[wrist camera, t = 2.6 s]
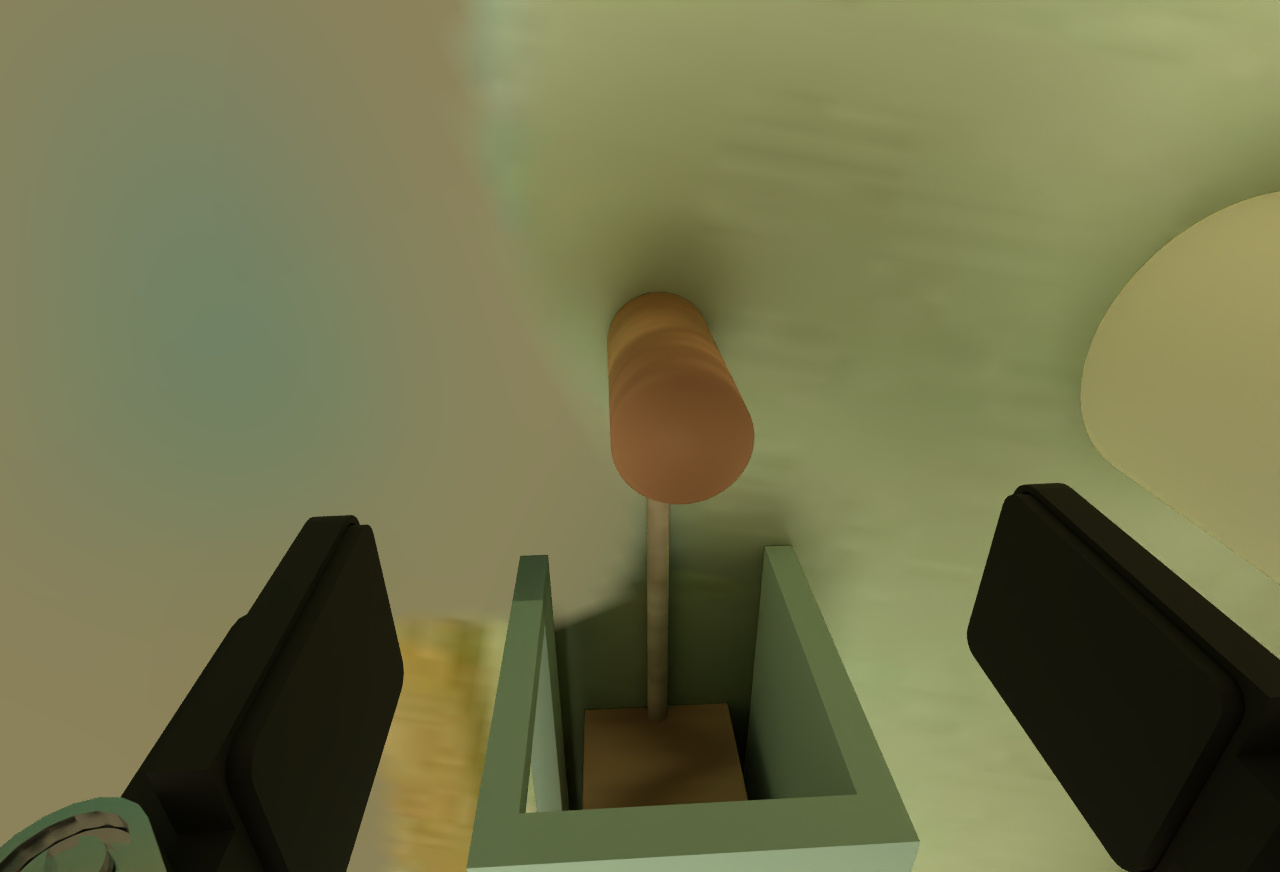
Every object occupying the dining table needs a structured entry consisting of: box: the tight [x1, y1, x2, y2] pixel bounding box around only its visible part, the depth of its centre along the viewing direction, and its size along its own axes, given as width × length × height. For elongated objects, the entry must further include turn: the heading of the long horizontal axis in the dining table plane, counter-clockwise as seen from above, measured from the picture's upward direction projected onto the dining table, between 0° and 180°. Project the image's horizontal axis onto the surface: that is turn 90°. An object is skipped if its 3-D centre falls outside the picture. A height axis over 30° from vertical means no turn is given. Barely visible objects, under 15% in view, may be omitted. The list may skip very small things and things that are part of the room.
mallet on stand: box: [583, 292, 754, 810], centre depth 23 cm, size 6×24×7 cm, turn 0°
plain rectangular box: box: [466, 545, 920, 872], centre depth 24 cm, size 10×18×11 cm, turn 0°
